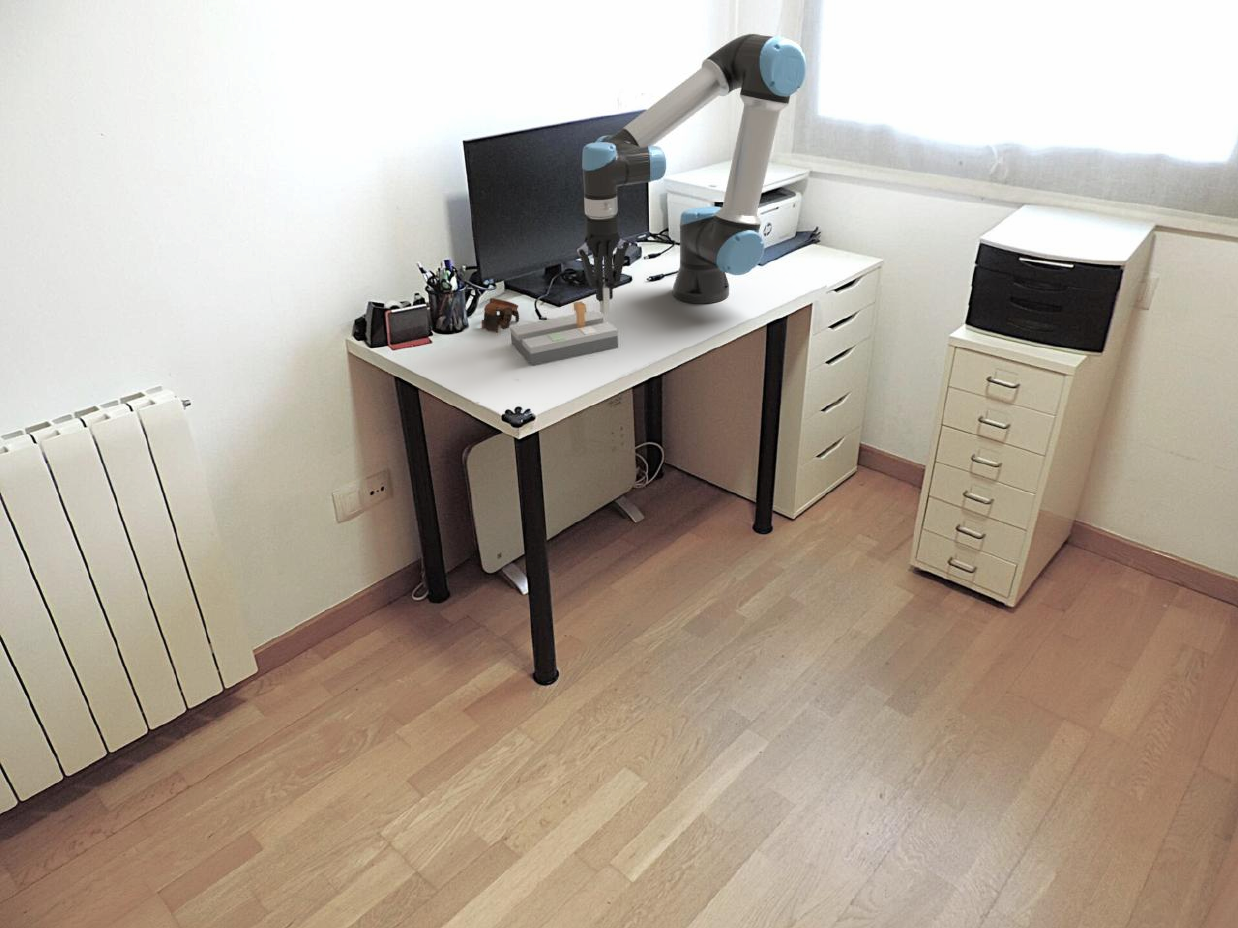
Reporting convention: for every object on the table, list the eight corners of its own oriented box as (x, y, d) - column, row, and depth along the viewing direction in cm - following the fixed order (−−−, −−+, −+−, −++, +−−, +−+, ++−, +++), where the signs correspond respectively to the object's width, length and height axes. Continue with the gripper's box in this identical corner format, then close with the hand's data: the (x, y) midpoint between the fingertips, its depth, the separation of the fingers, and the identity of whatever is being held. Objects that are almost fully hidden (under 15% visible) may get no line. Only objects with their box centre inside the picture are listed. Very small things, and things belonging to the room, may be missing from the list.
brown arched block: (473, 327, 228) (481, 295, 227) (506, 336, 233) (514, 305, 232) (491, 330, 218) (499, 297, 217) (525, 340, 223) (533, 307, 222)
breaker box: (594, 327, 224) (593, 309, 222) (618, 347, 213) (617, 328, 211) (511, 344, 217) (510, 326, 214) (531, 365, 206) (530, 347, 203)
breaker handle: (582, 326, 216) (581, 300, 213) (587, 330, 214) (586, 304, 211) (574, 328, 216) (573, 302, 212) (579, 332, 213) (578, 306, 210)
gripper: (581, 223, 198) (586, 322, 210) (634, 214, 203) (636, 312, 215) (568, 215, 204) (574, 312, 216) (620, 207, 209) (622, 302, 221)
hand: (605, 312), depth 215 cm, fingers closed
